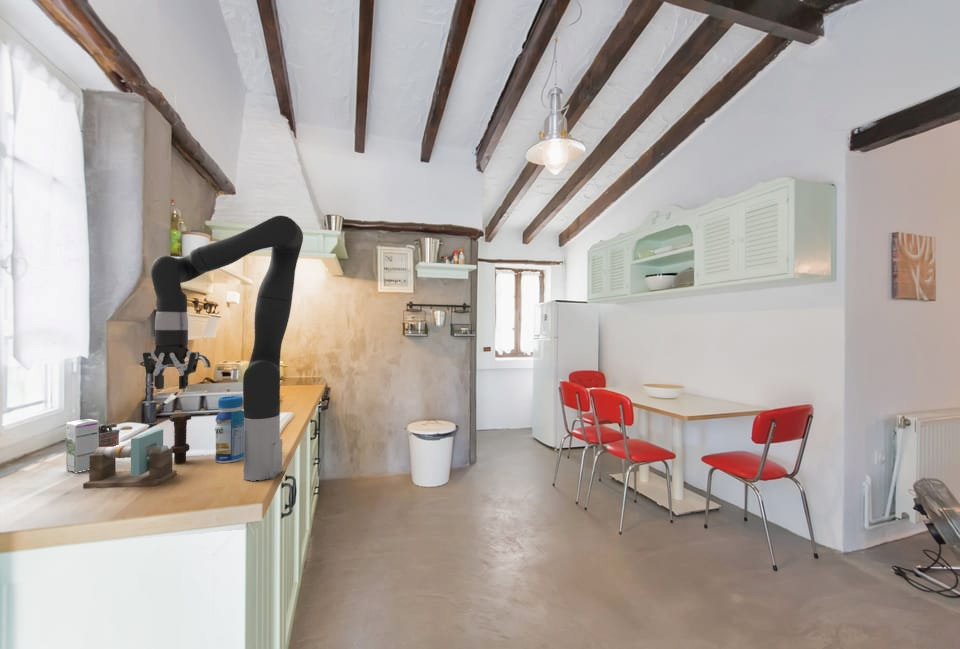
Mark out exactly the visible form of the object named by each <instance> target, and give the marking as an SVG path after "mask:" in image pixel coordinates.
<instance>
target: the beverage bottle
mask: <svg viewBox="0 0 960 649" xmlns="http://www.w3.org/2000/svg"><path fill="white" fill-rule="evenodd" d="M217 402H218V404H217V405H218V407H217V408H218V409H219V410H220V411H219V412H218V413H217V415H216V417H215V422H216V425H215V426H214V431H215V457H214V458H215V462H217V463H220V464H228V463H235V462H239V461H241V460H244V410H242V408H243V396H241V395H231V396H229V395H228V396H222V397H219V398H218V400H217Z"/></svg>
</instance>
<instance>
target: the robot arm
mask: <svg viewBox="0 0 960 649" xmlns="http://www.w3.org/2000/svg"><path fill="white" fill-rule="evenodd" d="M303 234H304V232H303V231H302V229H301V227H300V226H299V225H298V224H297V222H296V221H294V219H292V218H291V217H289V216H286V215H276V216H272V217H271V218H268V219H267V220H264V221H262V222H260V223H259V224H257V225H255V226H253V227H251V228H248V229H246V230H245V231H242V232H240V233H237V234H235V235H232V236H230V237H227V238H224V239H221V240H217V241H215V242H212V243H209V244H205V245H202V246H199V247H197V248H196V247H195V248H194V249H192V250H191V251H190V252H189V254H188V255H185V256H181V257H178V258H177V257H173V256H169V255H161V256H159V257H156V259H154V261H153V263H152V265H151V268H150V269H151V270H150V274H151V275H150V276H151V281H152V285H153V289H154V292H155V296H156V302H155V312H156V313H155V318H154V345H155V348H154V350H153V351H147V352H142V358H143V364H144V369H145V372H146V374H148V375H149V374H150V375H153V377H154V384H153V385H154V388H156V390H163V389H164V388H165V375H164V373H165V370H166V369H167V367H168V366H169V365H171V366H174V367H175V369H176V370H177V372H178V374H179V376H178V389H179V390H184V389H186V388H187V387H189V376H190V375H191V374H193V373H195V372H197V366H198V363H199V358H200V352H199V351H190V349H189V348H188V346H189V345H188V344H189V318H188V296H187V294H186V293H185V292H184V291H183V290H182V286H181V285H182V283H187V282H189V281H192V280H194V279H196V278H198V277H200V276H202V275H204V274H205V273H207V272H208V273H209V272H212V271H215V270H218V269H220V268H224V267H227V266H229V265H232V264H233V263H236V262H237V261H239V260H241V259H243V258H244V257H246V256H247V255H250V254H251V253H254V252H256V251H260V250H263V249H268V248H271V253H270V254H271V255H270V262H269V266H268V269H267V271H266V274H265V275H264V277H263V279H262V281H261V283H260V286H259V289H258V293H257V298H256V304H255V311H254V342H253V348H252V352H251V356H250V360H249V362H248V365H247V368H246V369H245V371H244V373H243V377H242V398H243V405H242V408H243V413H244V458H243V480H245V481H249V480H250V482H255V481H256V480H259V481H265V479H266V480H270V479H276V477H278V476H279V474H281V473H282V472H283V439H281V437H280V436H281V432H280V428H281V426H280V425H281V423H280V422H281V419H280V418H281V366H280V365H281V351H282V344H283V340H284V336H285V333H286V330H287V329H288V324H289V319H290V315H291V310H292V303H293V302H292V301H293V293H294V287H295V286H294V285H295V275H296V269H297V263H298V260H299V257H300V252H301V249H302V245H303V241H304V235H303ZM155 358H157V361H155ZM186 358H187V359H188V363H187V360H185V359H186ZM269 478H270V479H269Z"/></svg>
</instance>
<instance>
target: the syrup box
mask: <svg viewBox="0 0 960 649" xmlns="http://www.w3.org/2000/svg"><path fill="white" fill-rule="evenodd" d="M65 425H66V426H65V431H66V432H65V434H66V435H65V439H66V440H65V441H66V442H65V443H66V444H65V445H66V447H65V448H66V449H65V450H66V451H65V455H66V471H67V470H70V471H73V472H79V471H83V470H88V469H89V462H90V455H92V454H95V451H96V449H97V448H98V447H99V429H98V426H99V420H96V419H90V418H87V419H78V420H73V421H68V422H66V423H65ZM70 471H69V472H70ZM73 472H72V473H73Z"/></svg>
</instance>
